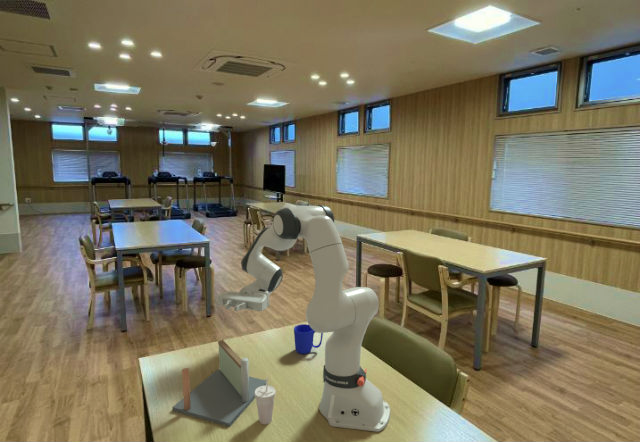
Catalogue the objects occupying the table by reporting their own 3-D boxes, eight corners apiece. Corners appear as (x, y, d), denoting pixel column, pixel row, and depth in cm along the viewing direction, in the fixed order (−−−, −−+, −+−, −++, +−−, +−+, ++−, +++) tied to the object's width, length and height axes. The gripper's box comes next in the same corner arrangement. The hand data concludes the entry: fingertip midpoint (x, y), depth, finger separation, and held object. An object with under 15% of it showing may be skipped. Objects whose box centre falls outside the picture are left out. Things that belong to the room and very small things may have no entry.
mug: (322, 356, 156) (322, 333, 154) (293, 355, 156) (293, 332, 154) (322, 346, 164) (323, 324, 162) (294, 346, 164) (294, 323, 163)
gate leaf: (245, 394, 126) (245, 363, 125) (240, 396, 125) (240, 364, 124) (223, 367, 143) (222, 339, 141) (219, 368, 142) (218, 341, 140)
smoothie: (272, 428, 113) (271, 385, 111) (251, 425, 114) (250, 382, 112) (278, 415, 119) (278, 373, 117) (259, 412, 121) (258, 370, 118)
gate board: (267, 383, 136) (267, 343, 134) (229, 426, 114) (228, 379, 111) (217, 372, 143) (216, 333, 141) (172, 410, 121) (170, 365, 119)
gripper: (227, 285, 158) (207, 296, 146) (272, 291, 151) (254, 303, 139) (228, 300, 159) (207, 312, 147) (272, 306, 152) (254, 320, 140)
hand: (231, 308), depth 143 cm, fingers open, 3 cm apart
